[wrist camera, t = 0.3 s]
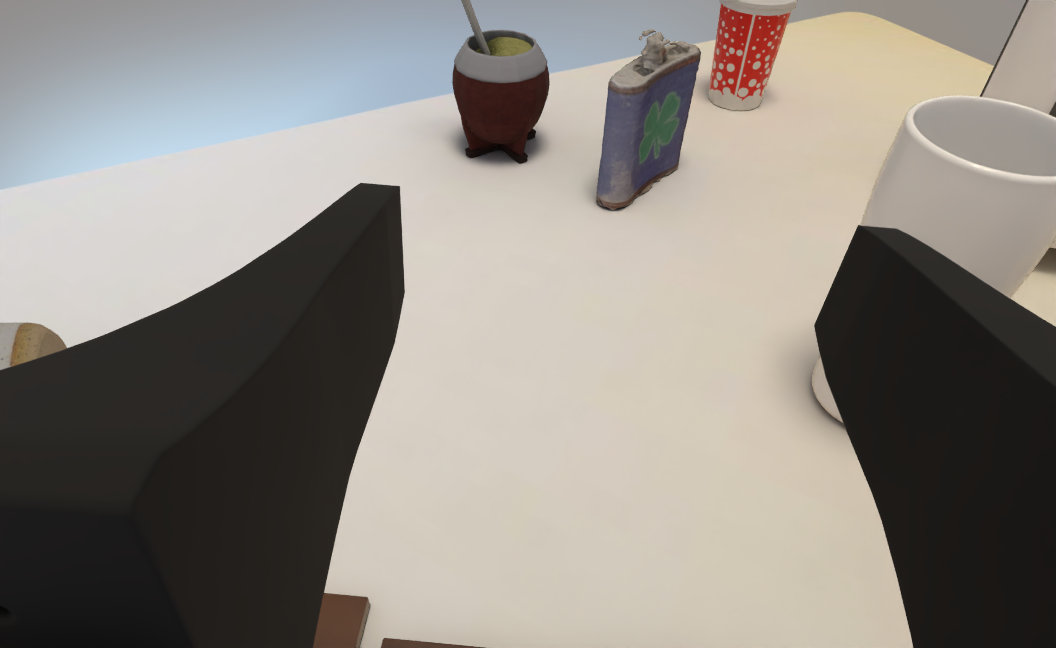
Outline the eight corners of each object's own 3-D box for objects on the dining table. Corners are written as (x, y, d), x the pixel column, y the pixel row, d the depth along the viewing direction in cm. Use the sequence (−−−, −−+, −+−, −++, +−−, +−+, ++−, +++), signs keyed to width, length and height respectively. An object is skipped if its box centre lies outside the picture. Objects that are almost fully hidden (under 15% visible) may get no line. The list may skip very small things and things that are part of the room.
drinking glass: (774, 408, 36) (882, 140, 26) (818, 334, 40) (927, 78, 30) (912, 474, 33) (1096, 203, 23) (945, 388, 37) (1113, 125, 27)
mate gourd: (563, 151, 55) (577, -62, 44) (478, 181, 51) (471, -43, 41) (509, 114, 59) (510, -88, 49) (427, 139, 55) (409, -73, 45)
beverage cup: (772, 90, 64) (819, -84, 54) (766, 119, 59) (816, -64, 50) (704, 79, 65) (739, -93, 55) (694, 107, 61) (729, -74, 51)
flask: (617, 215, 48) (636, 60, 41) (583, 199, 50) (596, 47, 42) (686, 164, 54) (714, 19, 46) (653, 151, 55) (676, 9, 48)
